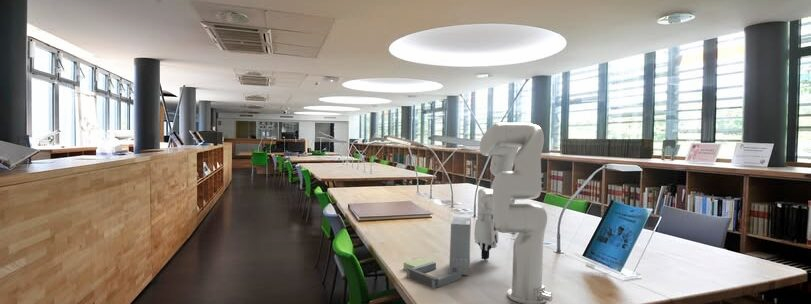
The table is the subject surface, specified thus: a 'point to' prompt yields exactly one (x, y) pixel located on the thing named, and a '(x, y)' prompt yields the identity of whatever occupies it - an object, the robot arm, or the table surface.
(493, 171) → the robot arm
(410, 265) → the light green block
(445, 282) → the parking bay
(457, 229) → the hard drive box
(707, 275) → the table surface
